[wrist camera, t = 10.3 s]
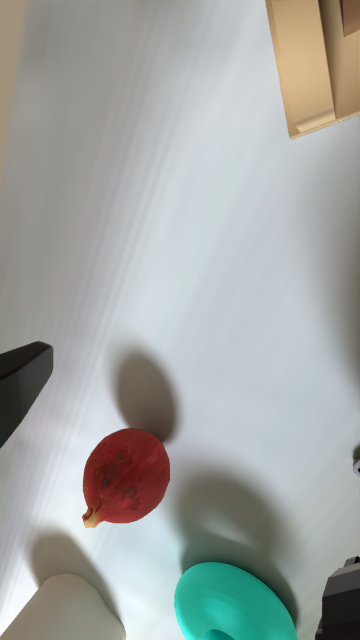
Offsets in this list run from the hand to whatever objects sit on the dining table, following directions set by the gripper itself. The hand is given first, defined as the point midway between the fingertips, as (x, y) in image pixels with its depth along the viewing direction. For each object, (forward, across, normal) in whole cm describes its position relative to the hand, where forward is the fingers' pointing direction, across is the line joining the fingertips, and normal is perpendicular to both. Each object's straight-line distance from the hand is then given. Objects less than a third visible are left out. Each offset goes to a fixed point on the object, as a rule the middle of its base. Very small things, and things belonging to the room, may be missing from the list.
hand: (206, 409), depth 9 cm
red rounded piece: (+11, +2, +16) cm, 20 cm away
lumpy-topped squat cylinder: (+8, +6, +47) cm, 48 cm away
